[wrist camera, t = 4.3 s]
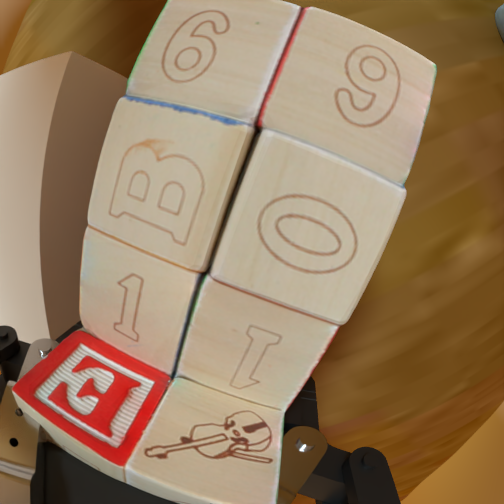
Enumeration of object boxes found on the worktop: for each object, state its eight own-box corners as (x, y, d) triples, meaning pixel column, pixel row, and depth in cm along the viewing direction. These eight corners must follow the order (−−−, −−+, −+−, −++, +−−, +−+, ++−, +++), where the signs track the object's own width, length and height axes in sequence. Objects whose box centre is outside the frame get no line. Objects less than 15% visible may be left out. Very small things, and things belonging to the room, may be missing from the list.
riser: (45, 91, 13) (-11, 80, 8) (135, 82, 13) (71, 50, 7) (42, 347, 20) (5, 378, 14) (113, 386, 19) (78, 431, 13)
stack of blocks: (239, 88, 13) (120, -92, 1) (353, 129, 12) (534, 18, 1) (149, 388, 19) (76, 508, 7) (224, 418, 18) (184, 555, 7)
